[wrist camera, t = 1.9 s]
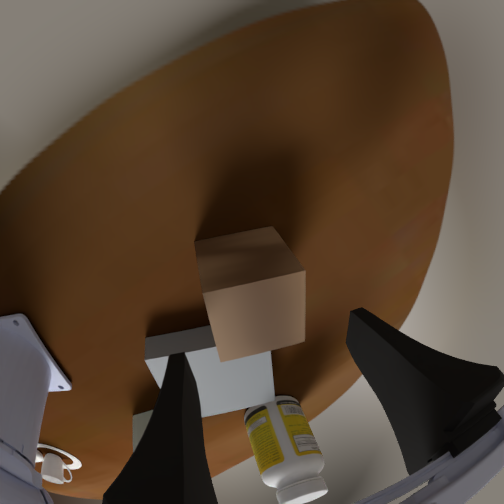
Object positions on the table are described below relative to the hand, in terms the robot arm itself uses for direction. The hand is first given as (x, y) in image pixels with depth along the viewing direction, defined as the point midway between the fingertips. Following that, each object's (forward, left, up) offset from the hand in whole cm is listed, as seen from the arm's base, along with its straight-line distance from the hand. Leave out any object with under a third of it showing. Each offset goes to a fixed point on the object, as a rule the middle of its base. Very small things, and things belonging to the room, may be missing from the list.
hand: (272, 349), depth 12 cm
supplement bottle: (+1, -17, -7) cm, 18 cm away
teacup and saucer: (-28, -20, -8) cm, 35 cm away
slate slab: (-3, -8, -7) cm, 11 cm away
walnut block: (0, 0, -7) cm, 7 cm away
